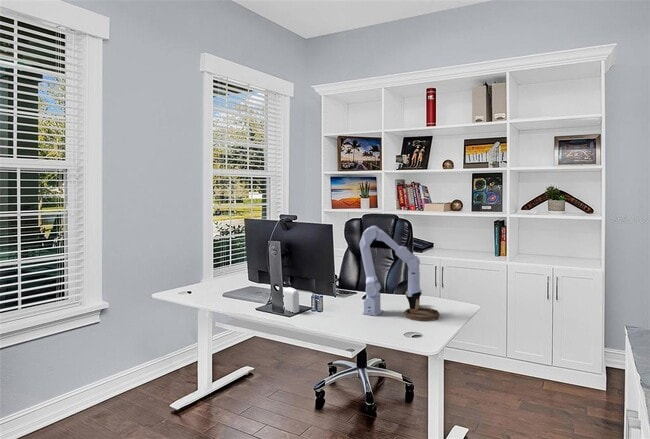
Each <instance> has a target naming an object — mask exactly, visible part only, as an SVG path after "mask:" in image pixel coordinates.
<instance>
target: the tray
mask: <svg viewBox="0 0 650 439" xmlns="http://www.w3.org/2000/svg"><path fill="white" fill-rule="evenodd" d="M404 316H405V318H406V319H408V320H411V321H412V320H413V321H418V322H419V321H420V322H431V321H436V320H439V318H440V312H439V310H438V309H434V308H430V307H424V306H423V307H422V306H421V307H418V312H410V309H409V308H406V310H404Z"/></svg>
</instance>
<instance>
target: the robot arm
mask: <svg viewBox="0 0 650 439" xmlns="http://www.w3.org/2000/svg"><path fill="white" fill-rule="evenodd" d="M374 240H375V241H379V242H384V243H385V245H387V246H388V247H389V248H391V249H392V250H394V251H395V256H396V257H398V258H399V260H401V261H403V262H404V263H405V264H406V266H407V268H408V271H407V294H406V295H405V297H406V299H407V303H408V304H409V305H410V309H415V305H416V300H417V299H418V302H419V298H421V296H422V294H423V293H422V292H423V290H422V289H421V287H420V286H421V284H420V281H421V278H420V277H421V276H420V275H421V274H420V264H421V260H420V257H418V256H417V255H415V253H412V252H411V251H410V250H408V247H407V246H404V245H399V244H398V243H397V242H396V241H395V240H394V239H392V238H391V236H389V235H388V234H387V233H386V232H385V231H384V230H383V229H381V228H380V227H379V226H378V225H371V226H369V227H367V228H366V229H365V230H364V231H363V232H362V235H361V238H360V241H359V245H358V246H359V250H360V254H361V259H362V264H363V269H364V274H365V285H366V286H365V293H366V294H365V296H366V298H365V300H364V301H363V312H362V315H367V316H368V315H369V316H374V317H375V316H376V317H377V316H379V315H380V314H382V313H383V312H384V309H381V305H382V304H381V293H380V290H381V289H382V286H381V283H380V282H379V280H378V277H377V275H376V271H375V265H374V260H373V256H372V250H371V244H372V243H373V241H374Z"/></svg>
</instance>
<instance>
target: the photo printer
mask: <svg viewBox="0 0 650 439" xmlns="http://www.w3.org/2000/svg"><path fill="white" fill-rule="evenodd" d="M283 295H284V297H282V298H283V300H282V302H284V305H283V308H284V307H285V310H284V311H286V310H287V311H286V312H289V311H290V313H292V312H293V313H292V314H298V313H299V312H300V294H299V291H298V290H297V289H295V288H293V287H289V286H288V287H284V288H283V291H282V296H283ZM297 312H298V313H297Z"/></svg>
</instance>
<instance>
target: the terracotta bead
mask: <svg viewBox="0 0 650 439" xmlns="http://www.w3.org/2000/svg"><path fill="white" fill-rule="evenodd" d="M408 309H410V305H409V308H408ZM410 312H418V299H417V300H416V305H415V309H410Z"/></svg>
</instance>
